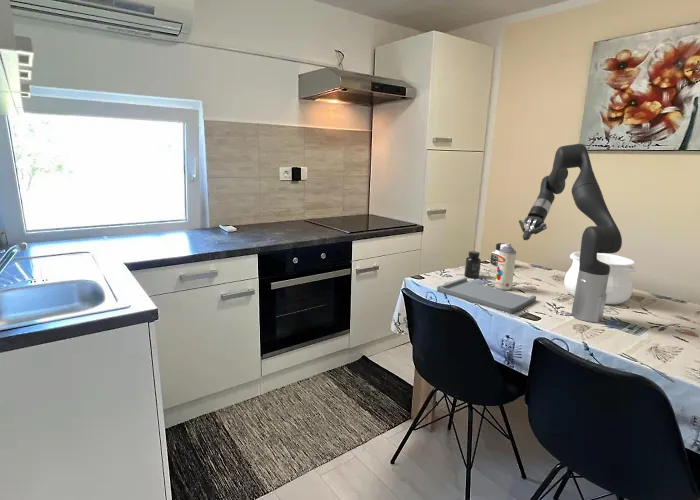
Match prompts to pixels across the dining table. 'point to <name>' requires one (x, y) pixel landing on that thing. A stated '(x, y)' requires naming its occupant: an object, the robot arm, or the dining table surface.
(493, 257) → the medicine bottle
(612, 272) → the pot
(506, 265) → the aerosol can
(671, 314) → the dining table surface
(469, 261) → the supplement bottle
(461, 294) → the tray
